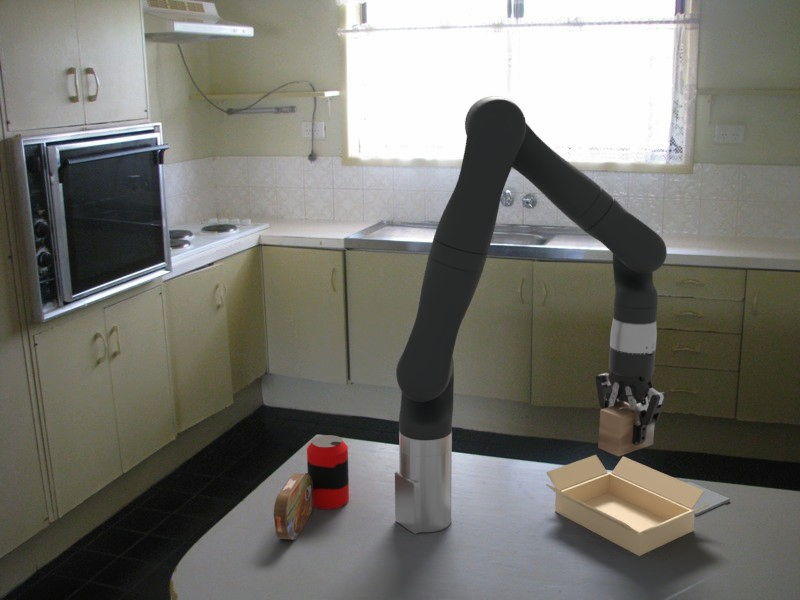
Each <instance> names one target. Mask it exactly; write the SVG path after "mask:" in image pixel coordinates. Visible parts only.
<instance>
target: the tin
mask: <svg viewBox="0 0 800 600" xmlns="http://www.w3.org/2000/svg"><path fill="white" fill-rule="evenodd" d="M313 507H314V506H313V484H312V479H311V477H310V475H309V474H308V472H307V473H293V474H292V475H291V476H290V477H289V479H288V480H287V482H285V484H284V486H283V487H282V488H281V490H280V491H279V492H278V494H277V496H276V498H275V502H274V506H273V520H274V528H275V535H276V536H277V538H278V539H281V540H292V541H294V540H296V539H297V538H298V536H299V534H301V531H302V530H303V528H304V526H305V525H306V523H307V522H308V520H309V518H310V517H311V513H312V511H313Z"/></svg>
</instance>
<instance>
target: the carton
mask: <svg viewBox="0 0 800 600" xmlns="http://www.w3.org/2000/svg"><path fill="white" fill-rule="evenodd" d="M545 473H546V475H547V476H548V478H549V480H550V482H551V483H552V484H553V486H552V485H550V484H548V483H546V487H547V488H549V489H550V490H551V491H553V492H554V493H555V504H554V506H555V507H554V512H555V513H557V514H559V515H561V516H562V517H564V518H567V519H568V520H570V521H572V522H574V523H576V524H578V525H580V526H582V527H583V528H585V529H587V530H589V531H590V532H593V533H594V534H596V535H599V536H601V537H602V538H604V539H606V540H608V541H610V542H611V543H613V544H614V545H615V544H616V546H619V547H621V548H623V549H625V550H627V551H629V552H630V553H632V554H634V555H637V557H640V556H642V555H644V554H646V553H649V552H651V551H654V550H655V549H658V548H660V547H662V546H664V545H666V544H669V543H670V542H672V541H674V540H677V539H679V538H681V537H684V536H685V535H687V534H689V533H692V532H694V528H695V527H694V526H695V512H696V511H698V510H700V509H703V508H705V507H707V506H709V504H707V505H705V506H702V507H700V508H698V509H695V510H692V509H693V508H694V506H695V505H696V503H697V502H698V500H699V499H700V497H701V496H702V494H703V493H704V490H701V489H699V488H697V487H694V486H692V485H690V484H687V482H685V481H682V480H679V479H678V478H675V477H673V476H671V475H669V474H666V473H663V472H662V471H661V472H660V471H659V470H656V469H655V468H654V469H653V468H651V467H650V466H647V465H644V464H642V463H639V462H637V461H635V460H633V459H630V458H628V457H626V456H624V455H622V457H621V458H620V460H619V461H618V463H617V464H616V466H615V467H614V469H613V470H612V471H607V470H606V468H605V466H604V465H603V463H602V461H601V460H600V458H599V457H598V455H597V454H594V455H591V456H589V457H586V458H582V459H580V460H577V461H574V462H572V463H568V464H565V465H562V466H561V467H560V466H559V467H557V468H554V469H550V470H548V471H546V472H545Z"/></svg>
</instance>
